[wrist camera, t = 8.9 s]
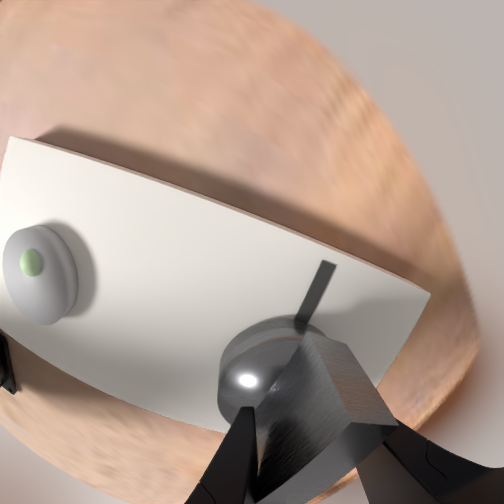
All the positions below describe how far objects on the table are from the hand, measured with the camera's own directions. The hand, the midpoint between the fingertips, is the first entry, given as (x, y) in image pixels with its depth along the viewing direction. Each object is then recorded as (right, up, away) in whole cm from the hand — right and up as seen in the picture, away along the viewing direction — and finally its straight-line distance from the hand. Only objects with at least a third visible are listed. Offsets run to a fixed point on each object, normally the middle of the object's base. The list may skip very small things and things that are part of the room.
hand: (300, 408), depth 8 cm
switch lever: (-1, 0, +3) cm, 3 cm away
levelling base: (-5, +2, +5) cm, 7 cm away
